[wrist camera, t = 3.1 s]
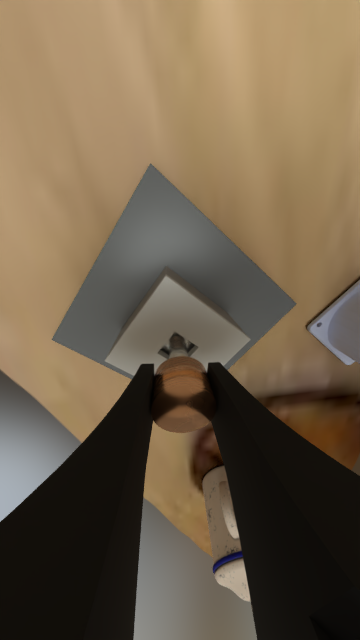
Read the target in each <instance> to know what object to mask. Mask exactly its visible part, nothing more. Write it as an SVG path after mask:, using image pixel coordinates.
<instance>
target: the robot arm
mask: <svg viewBox="0 0 360 640" xmlns="http://www.w3.org/2000/svg"><path fill="white" fill-rule="evenodd" d="M317 324H318V325H317ZM307 330H308V331H309V332H310V333H311V334H312V335H314V336H315V337H316V338H317V339H318V340H319V341H320V342H321V343H322V344H323V345H325V346H326V347H327V348H328V349H329V350H330V351H331V352H332V353H333V354H334V355H335V356H337V357H338V358H339V359H340V360H341V361H342V362H343V363H345V364H346V365H350V364H352V363H354V362H355V361H356V362H358V363H359V364H360V280H359V281H358V282H356V283H355V284H354V285H353V286H352V287H351V288H350V289H349V290H347V291H346V292H345V293H344V294H343V295H342V296H341V297H340V298H338V299H337V300H336V301H335V302H334V303H333V304H332V305H331V306H329V307H328V308H327V309H326V310H325V311H324V312H323V313H322V314H320V315H319V316H318V317H317V318H316V319H315V320H314V321H313V322H311V323H310V324H309V325H308V327H307ZM207 375H208V378H209V382H210V385H211V388H212V391H213V395H214V398H215V401H216V406H217V410H216V413H215V416H214V417H213V419H212V420H211V422H212V425H213V429H214V432H215V436H216V439H217V442H218V446H219V449H220V453H221V456H222V459H223V463H224V467H225V471H226V475H227V480H228V485H229V490H230V494H231V499H232V504H233V509H234V514H235V519H236V524H237V529H238V534H239V539H240V545H241V550H242V555H243V561H244V566H245V571H246V577H247V582H248V588H249V594H250V600H251V605H252V611H253V617H254V622H255V628H256V634H257V640H360V476H359V475H357V474H356V473H354V472H353V471H351V470H349V469H348V468H346V467H345V466H343V465H342V464H340V463H339V462H337V461H336V460H334V459H333V458H331V457H330V456H328V455H327V454H325V453H324V452H323V451H321V450H320V449H318V448H317V447H316V446H314V445H313V444H311V443H310V442H308V441H307V440H306V439H304V438H303V437H302V436H300V435H299V434H298V433H296V432H295V431H294V430H292V429H291V428H290V427H289V426H287V425H286V424H285V423H283V422H282V421H281V420H280V419H278V418H277V417H276V416H275V415H274V414H272V413H271V412H270V411H269V410H268V409H267V408H265V407H264V406H263V405H262V404H261V403H260V402H259V401H258V400H256V399H255V398H254V397H253V396H252V395H251V394H250V393H249V392H248V391H247V390H246V389H245V388H244V387H243V386H242V385H241V384H240V383H239V382H238V381H237V380H236V379H235V378H234V377H233V376H232V375H231V374H230V373H229V372H228V371H227V369H226V368H225V367H224V366H223V365H222V364H221V363H220V362H208V368H207ZM153 386H154V363H153V364H141V365H140V367H139V368H138V370H137V372H136V374H135V375H134V377H133V379H132V380H131V382H130V383H129V385H128V386H127V388H126V389H125V391H124V392H123V394H122V395H121V397H120V398H119V399H118V401H117V402H116V403H115V405H114V406H113V407H112V409H111V410H110V411H109V412H108V414H107V415H106V416H105V417H104V419H103V420H102V421H101V422H100V423H99V425H98V426H97V427H96V428H95V429H94V430H93V432H92V433H91V434H90V435H89V436H88V437H87V438H86V439H85V441H84V442H83V443H82V444H81V445H80V446H79V447H78V448H77V449H76V450H75V451H74V452H73V453H72V454H71V455H70V456H69V458H67V459H66V461H65V462H64V463H63V464H62V465H61V466H60V467H59V468H58V469H57V470H56V471H55V472H53V473H52V474H51V475H50V476H49V477H48V478H47V479H46V480H45V481H44V482H43V483H42V484H41V485H40V486H39V487H38V488H37V489H36V490H35V491H33V493H32V494H30V495H29V496H28V497H27V498H26V499H25V500H24V501H23V502H22V503H21V504H20V505H19V506H17V507H16V508H15V509H14V510H13V511H12V512H11V513H10V514H9V515H8V516H7V517H6V518H4V519H3V520H2V521H1V522H0V640H133V636H134V621H135V605H136V590H137V589H136V588H137V574H138V561H139V545H140V533H141V519H142V506H143V493H144V481H145V471H146V463H147V456H148V450H149V443H150V437H151V430H152V424H153V418H152V416H151V406H152V396H153Z"/></svg>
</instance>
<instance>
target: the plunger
mask: <svg viewBox="0 0 360 640" xmlns="http://www.w3.org/2000/svg"><path fill="white" fill-rule="evenodd" d="M194 346H195V344H193V343H192V342H190V341H189V340H187V339H185V338H184V337H182V336H181V335H179V334H178V333H176V332H174V334H173V335H172V336H171V337H170V338H169V340H168V341H167V342H166V343H165V344H164V346H163V347H162V348H161V349H160V350H161V351H163V352H165V353H166V354H168V355H169V359H168V360H166V361H164V362H163V363H162V364H160V365H159V367H158V368H157V370H156V372H155V376H154V386H153V396H152V406H151V416H152V418H153V420H154V422H155V423H156V424H157V425H158V426H159V427H161V428H162V429H164V430H167V431H170V432H176V433H185V432H191V431H195V430H198V429H200V428H202V427H204V426H205V425H207V424H208V423H209V422H210V421H211V420H212V419H213V417H214V416H215V413H216V410H217V406H216V401H215V398H214V395H213V391H212V388H211V385H210V382H209V378H208V375H207V372H206V369H205V367H204V366H203V364H202V363H201V362H199V361H198V360H196V359H194V358H192V357H188V352H189V351H190V350H191V349H192V348H193V347H194Z"/></svg>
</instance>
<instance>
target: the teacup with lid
mask: <svg viewBox="0 0 360 640" xmlns="http://www.w3.org/2000/svg"><path fill="white" fill-rule="evenodd" d="M202 485H203V492H204V499H205V506H206V513H207V520H208V526H209V533H210V540H211V547H212V554H213V561H214V566H213V573H214V574H215V578H216V580H217V582H218V583H219V584H220V585H222V586H224V587H227V588H229V589H231V590H232V591H233V592H235V593H236V594H237V595H238V596H239V597H240V598H241V599H243V600H245V601H251V600H250V594H249V588H248V582H247V577H246V571H245V566H244V561H243V555H242V550H241V545H240V539H239V534H238V529H237V524H236V519H235V514H234V509H233V504H232V499H231V494H230V490H229V485H228V480H227V475H226V471H225V467H224V465H223V466H220V467H217V468H215V469H213V470H211V471H210V472H208V473H207V474H206V475H205V477H204V479H203V482H202ZM251 607H252V605H251Z"/></svg>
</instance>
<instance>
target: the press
mask: <svg viewBox="0 0 360 640" xmlns="http://www.w3.org/2000/svg"><path fill="white" fill-rule="evenodd" d="M295 305H296V303H295V302H294V301H293V300H292V299H291V298H290V297H289V296H288V295H287V294H286V293H285V292H284V291H283V290H282V289H281V288H280V287H279V286H278V285H277V284H276V283H275V282H273V281H272V280H271V279H270V278H269V277H268V276H267V275H266V274H265V273H264V272H263V271H262V270H261V269H260V268H259V267H258V266H257V265H256V264H255V263H254V262H253V261H252V260H251V259H250V258H249V257H247V256H246V255H245V254H244V253H243V252H242V251H241V250H240V249H239V248H238V247H237V246H236V245H235V244H234V243H233V242H232V241H231V240H230V239H229V238H228V237H227V236H226V235H225V234H224V233H222V232H221V231H220V230H219V229H218V228H217V227H216V226H215V225H214V224H213V223H212V222H211V221H210V220H209V219H208V218H207V217H206V216H205V215H204V214H203V213H202V212H201V211H200V210H199V209H197V208H196V207H195V206H194V205H193V204H192V203H191V202H190V201H189V200H188V199H187V198H186V197H185V196H184V195H183V194H182V193H181V192H180V191H179V190H178V189H177V188H176V187H175V186H174V185H172V184H171V183H170V182H169V181H168V180H167V179H166V178H165V177H164V176H163V175H162V174H161V173H160V172H159V171H158V170H157V169H156V168H155V167H154V166H153V165H152V164H151V163H150V165H149V167H148V169H147V170H146V172H145V174H144V176H143V177H142V179H141V181H140V183H139V185H138V186H137V188H136V190H135V192H134V194H133V195H132V197H131V199H130V201H129V202H128V204H127V206H126V208H125V210H124V211H123V213H122V215H121V217H120V219H119V220H118V222H117V224H116V226H115V227H114V229H113V231H112V233H111V235H110V236H109V238H108V240H107V242H106V244H105V245H104V247H103V249H102V251H101V252H100V254H99V256H98V258H97V260H96V261H95V263H94V265H93V267H92V269H91V270H90V272H89V274H88V276H87V277H86V279H85V281H84V283H83V285H82V286H81V288H80V290H79V292H78V294H77V295H76V297H75V299H74V301H73V302H72V304H71V306H70V308H69V310H68V311H67V313H66V315H65V317H64V319H63V320H62V322H61V324H60V326H59V327H58V329H57V331H56V333H55V335H54V336H53V338H52V340H53V341H55V342H57V343H59V344H61V345H63V346H65V347H67V348H69V349H71V350H74V351H76V352H78V353H80V354H82V355H84V356H86V357H88V358H90V359H92V360H94V361H96V362H98V363H100V364H102V365H104V366H106V367H108V368H110V369H112V370H114V371H116V372H118V373H120V374H122V375H124V376H126V377H128V378H130V379H133V377H134V375H135V374H136V372H137V370H138V368H139V367H140V365H141V364H153V363H154V376H155V372H156V370H157V368H158V367H159V365H160V364H162V363H163V362H164V361H166V360H168V359H169V355H168V354H166V353H165V352H163V351H161V350H160V349H161V348H162V347H163V346H164V344H165V343H166V342H167V341H168V340H169V338H170V337H171V336H172V335H173V334H174V332H176V333H178V334H179V335H181V336H182V337H184V338H185V339H187V340H189V341H190V342H192V343H193V344H195V346H194V347H193V348H192V349H191V350H190V351H189V352H188V357H192V358H194V359H196V360H198V361H199V362H201V363H202V364H203V366H204V367H205V369H206V372H207V368H208V362H220V363H221V364H222V365H223V366H224V367H225V368H226V369H227V370H228V369H229V368H230V367H231V366H232V365H233V364H234V363H235V362H236V361H237V360H238V359H239V358H241V357H242V356H243V355H244V354H245V353H246V352H247V351H248V350H249V349H250V348H251V347H252V346H253V345H254V344H255V343H256V342H257V341H258V340H259V339H260V338H261V337H263V336H264V335H265V334H266V333H267V332H268V331H269V330H270V329H271V328H272V327H273V326H274V325H275V324H276V323H277V322H278V321H279V320H280V319H281V318H282V317H283V316H284V315H286V314H287V313H288V312H289V311H290V310H291V309H292V308H293V307H294V306H295Z"/></svg>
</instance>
